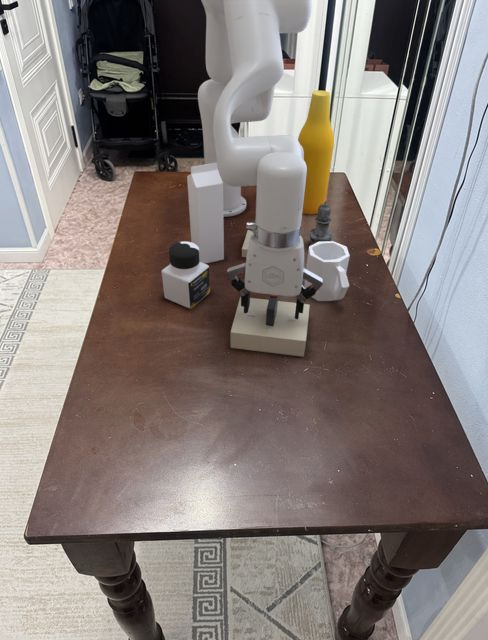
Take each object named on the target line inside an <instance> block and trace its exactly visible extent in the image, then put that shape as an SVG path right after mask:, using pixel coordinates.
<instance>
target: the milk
mask: <svg viewBox="0 0 488 640" xmlns="http://www.w3.org/2000/svg"><path fill="white" fill-rule="evenodd" d="M186 179H187V195H188V211H189V212H188V214H189V226H190V228H189V229H190V242H192V243H194V244H196V245H197V246H198V247H199V255H200V262H201V263H204V264H210V263H215V262H219V261H224V260H225V243H224V241H225V237H224V236H225V233H224V229H225V228H224V217H223V182H222V179H221V177H220V174H219V171H218V166H217V163H211V164H205V165H204V164H199V165H192V166H191V167H190V174H188V175H187V176H186Z"/></svg>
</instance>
